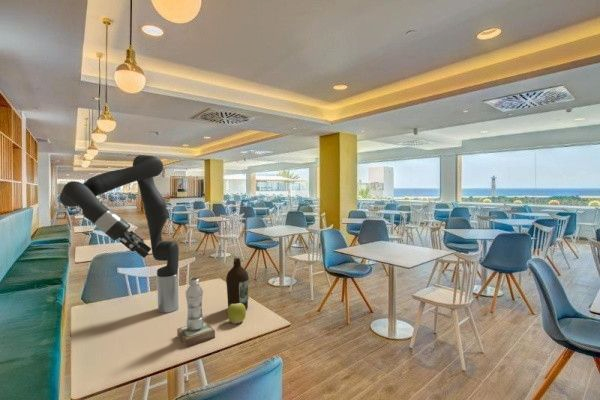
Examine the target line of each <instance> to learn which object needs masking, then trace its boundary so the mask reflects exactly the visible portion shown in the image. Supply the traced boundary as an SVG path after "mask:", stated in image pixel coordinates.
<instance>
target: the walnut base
mask: <svg viewBox="0 0 600 400" xmlns="http://www.w3.org/2000/svg"><path fill="white" fill-rule="evenodd" d="M176 331H177V334H176V335H177V337H178V338H179V340H180V341H181V342H182V343H183V344H184V345H185V347H186V348H188V347H191V346H194V345H197V344H200V343H204V342H206V341H209V340H212V339H214V338H216V329H214V328H213V327H212V326H211V325H210V324H208V323H207V322H206V321H205V320H204V324H203V326H202V328H200V329H198V330H189V329H188V328H187V325H186V326H182V327H179V328H177V329H176Z"/></svg>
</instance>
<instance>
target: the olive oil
mask: <svg viewBox="0 0 600 400" xmlns="http://www.w3.org/2000/svg"><path fill="white" fill-rule="evenodd" d="M241 264H242V261H241V257H239V256H238V257H234V258H233V266H232V267H231V269H229V271H228V272H227V274H226V278H225V280H226V283H225V285H226V296H227V308H228V307H229V306H230V305H231V304H235V303H236V304H237V303H242V304H243V305H244V306H245V308H246V311H247V310H248V309H249V303H248V302H249V279H250V278H249V274H248V271H247V270H246V269H245V268H244V267H243V266H242V265H241ZM234 301H235V302H234ZM247 308H248V309H247Z"/></svg>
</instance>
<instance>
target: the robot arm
mask: <svg viewBox="0 0 600 400" xmlns="http://www.w3.org/2000/svg"><path fill="white" fill-rule="evenodd" d="M163 170H164V163H163V161H162V160H161V158H159V157H157V156H154V155H147V154H146V155H145V154H139V155H137V156H135V158H134V159H133V161H132V166H130V167H125V168H120V169H115V170H110V171H105V172H103V173H100V174H97V175H94V176H91V177H90V178H88V179H87V180H86V181H85V182H83V183H82V182H80V181H74V180H73V181H68V182H67V183H66V184H65V185H64V186H63V188H62V190H61V192H60V195H59V202H60V203H61V204H62V205H63V206H65V207H68V208H74V207H75V208H76V207H79V208H80V209H81V211H82V215H83V217H84V218H85V219H87V220H88V221H89V222H91V223H92V224H93V225H95V227H97V229H99V230H100V231H101V232H102V233H104V234H105V235H106V236H108V238H110V239H111V240H113V241H115V242H116V241H117V240H119V239H120V240H119V243H121V244H122V245H123V246H125V248H127V249H128V250H130V251H131V252H136V254H138V255H139V256H141V257H142V258H146V257H147V256H148V255H149V252H150V251H151V254H152V257H153V259H154V260H155V261H160V262H161V261H163V262H165V261H166V265H164V266H162V267H160V268H158V269H157V270H156V280H157V281H156V282H157V283H156V284H157V285H156V286H157V312H159V313H163V314H166V313H167V314H168V313H172V312H175V311H177V310H178V309H180V308H179V277H178V275H179V274H178V271H179V253H180V252H179V245H178V243H177V242H176V241H174V240H173V241H172V240H171V241H168V240H167V241H166V240H165V241H163V238H162V233H163V232H162V231H163V228H164V226H165V225H166V222H167V220H168V216H169V213H168V209H167V204H166V201H165V198H164V197H163V196H162V193H160V191H159V189H158V188H157V187H156V184H155V181H154V178H155V177H158V176H159V175H161V174H162V172H163ZM135 182H137V184H138V187H139V191H140V197H141V201H142V204H143V210H144V214H145V217H146V222H147V227H148V231H149V238H150V246H149V245H147V244H146V243H145V241H144V238H142V237H140V236H139V235H137V233H135V232H134V231H133V230H130V231H129V229H130V228H131V225H130V224H129V223H128V222H127V221H125V219H123V218H122V217H120V215H118V214H117V213H115V212H114V211H113V210H111V209H109V207H106V205H104V203H101V201H100V199H98V196H100V195H102V194H106V193H108V192H111V191H113V190H115V189H118V188H120V187H122V186H126V185H128V184H129V185H130V184H131V183H135Z"/></svg>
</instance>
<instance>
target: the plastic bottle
mask: <svg viewBox="0 0 600 400" xmlns="http://www.w3.org/2000/svg"><path fill="white" fill-rule="evenodd" d="M199 284H200V278H199V277H193V278H189V280H188V285H189V286H188V287H187V289H186V290H185V298H186V299H185V300H186V303H187V304H186V305H187V319H186V326H187V328H188V329H189V330H198V329H200V328H202V326H203V324H204V321H205V320H204V316H203V307H202V306H203V303H202V302H203V295H204V290H203V288H202V287H201V286H200V285H199Z"/></svg>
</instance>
